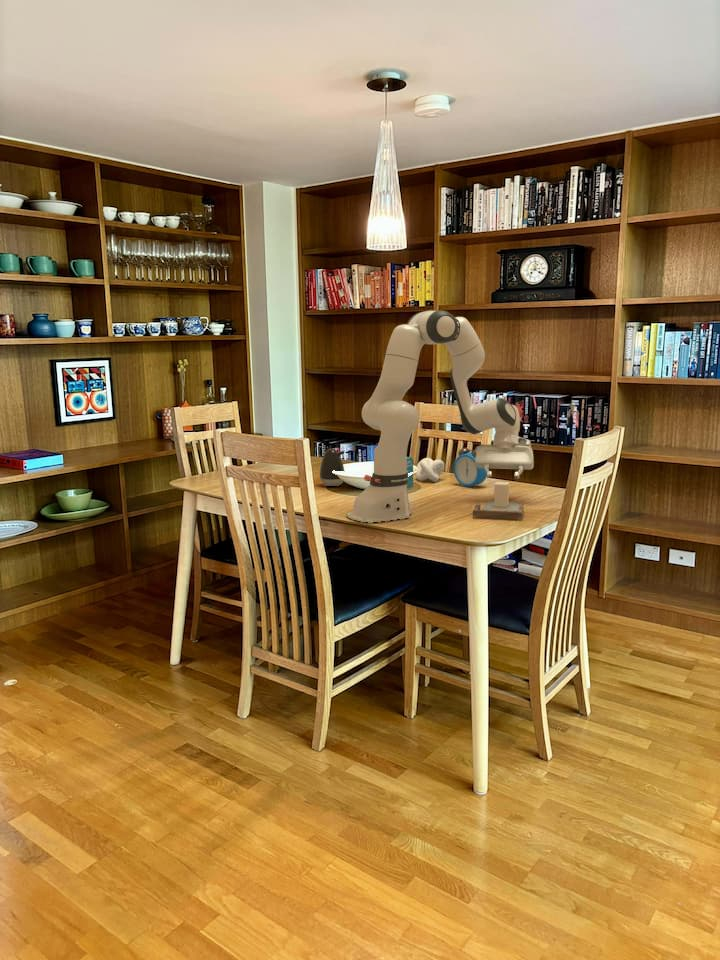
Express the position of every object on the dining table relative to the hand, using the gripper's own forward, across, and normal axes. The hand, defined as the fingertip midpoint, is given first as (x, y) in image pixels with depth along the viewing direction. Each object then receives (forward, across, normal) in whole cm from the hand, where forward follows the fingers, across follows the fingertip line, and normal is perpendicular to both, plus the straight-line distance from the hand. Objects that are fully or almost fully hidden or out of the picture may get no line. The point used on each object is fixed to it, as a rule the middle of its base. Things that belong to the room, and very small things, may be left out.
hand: (502, 477), depth 255 cm
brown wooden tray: (+19, 0, -3) cm, 19 cm away
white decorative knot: (-22, -33, +37) cm, 54 cm away
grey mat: (+10, 0, +5) cm, 11 cm away
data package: (-10, -41, +26) cm, 50 cm away
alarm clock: (-17, -15, +32) cm, 39 cm away
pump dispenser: (-10, -70, +26) cm, 75 cm away
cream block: (+9, 0, +4) cm, 10 cm away
